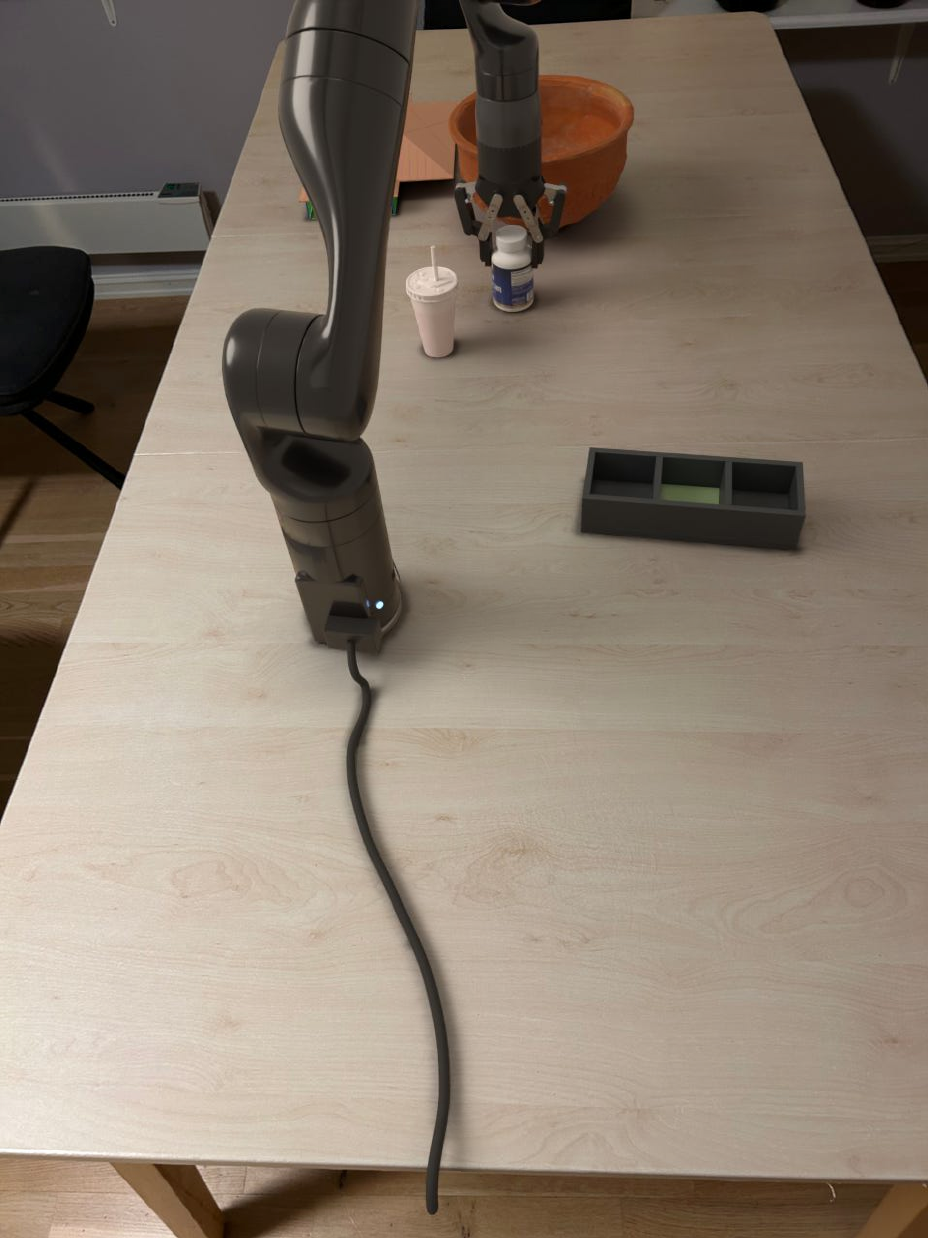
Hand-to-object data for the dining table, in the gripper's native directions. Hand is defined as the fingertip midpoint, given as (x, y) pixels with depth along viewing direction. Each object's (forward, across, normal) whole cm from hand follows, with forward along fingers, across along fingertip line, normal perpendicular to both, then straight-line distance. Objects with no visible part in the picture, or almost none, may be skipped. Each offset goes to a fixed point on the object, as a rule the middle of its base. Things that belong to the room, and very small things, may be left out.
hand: (512, 263), depth 120 cm
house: (+6, -26, +36) cm, 45 cm away
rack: (+5, +24, -37) cm, 44 cm away
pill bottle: (+6, 0, 0) cm, 6 cm away
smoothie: (+6, -8, -11) cm, 15 cm away
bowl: (+6, +1, +21) cm, 22 cm away
